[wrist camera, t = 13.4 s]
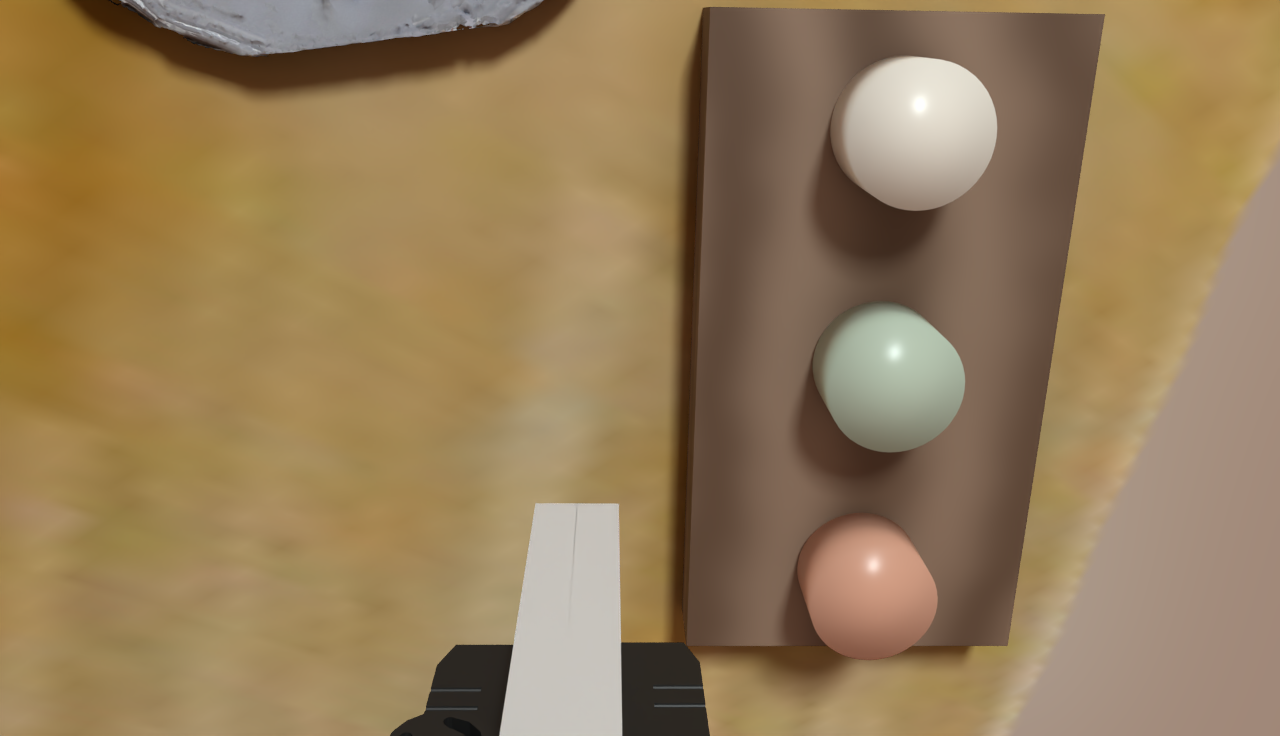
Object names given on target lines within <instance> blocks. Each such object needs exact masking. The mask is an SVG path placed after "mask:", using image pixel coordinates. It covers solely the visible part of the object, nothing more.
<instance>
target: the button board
mask: <svg viewBox="0 0 1280 736" xmlns="http://www.w3.org/2000/svg"><path fill="white" fill-rule="evenodd" d="M1104 16H1105V14H1054V13H1001V12H948V11H894V10H841V9H787V8H734V7H707V8H703V24H702V53H701V81H700V110H699V138H698V167H697V196H696V224H695V253H694V281H693V310H692V338H691V367H690V395H689V424H688V452H687V481H686V509H685V538H684V567H683V595H682V612H683V620H684V629H685V637H686V645H687V646H827V645H826V644H825V643H824V642H823V641H822V640H821V638H820V637H819V635H818V634H817V632H816V630H815V628H814V626H813V623H812V620H811V617H810V614H809V611H808V608H807V605H806V602H805V599H804V596H803V593H802V590H801V587H800V584H799V581H798V574H797V565H798V559H799V556H800V552H801V550H802V548H803V546H804V544H805V543H806V541H807V540H808V538H809V537H810V536H811V535H812V534H813V533H814V532H815V531H816V530H817V529H818V528H819V527H821V526H822V525H823V524H825V523H827V522H828V521H830V520H832V519H835V518H837V517H840V516H843V515H847V514H852V513H871V514H876V515H880V516H883V517H886V518H888V519H890V520H892V521H893V522H895V523H896V524H898V525H899V526H900V527H901V528H902V529H903V530H904V531H905V532H906V533H907V535H908V536H909V538H910V539H911V541H912V543H913V544H914V546H915V548H916V550H917V551H918V553H919V555H920V557H921V558H922V560H923V562H924V564H925V565H926V567H927V569H928V571H929V572H930V574H931V576H932V578H933V580H934V582H935V585H936V589H937V596H938V602H937V609H936V614H935V616H934V619H933V621H932V623H931V625H930V627H929V628H928V630H927V631H926V633H925V634H924V635H923V636H922V637H921V638H920V639H919V640H918V641H917V642H916V643H915V644H914V645H912V646H1007V645H1008V639H1009V632H1010V626H1011V619H1012V613H1013V606H1014V600H1015V593H1016V587H1017V580H1018V574H1019V568H1020V561H1021V555H1022V548H1023V542H1024V535H1025V529H1026V522H1027V516H1028V509H1029V503H1030V496H1031V490H1032V483H1033V477H1034V470H1035V464H1036V457H1037V451H1038V444H1039V438H1040V431H1041V425H1042V418H1043V412H1044V405H1045V399H1046V392H1047V386H1048V379H1049V373H1050V367H1051V360H1052V354H1053V347H1054V341H1055V334H1056V328H1057V321H1058V315H1059V308H1060V302H1061V295H1062V289H1063V282H1064V276H1065V269H1066V263H1067V256H1068V250H1069V243H1070V237H1071V230H1072V224H1073V217H1074V211H1075V204H1076V198H1077V191H1078V185H1079V178H1080V172H1081V166H1082V159H1083V153H1084V146H1085V140H1086V133H1087V127H1088V120H1089V114H1090V107H1091V101H1092V94H1093V88H1094V81H1095V75H1096V68H1097V62H1098V55H1099V49H1100V42H1101V36H1102V29H1103V23H1104ZM894 56H917V57H925V58H933V59H941V60H945V61H949V62H952V63H955V64H957V65H960V66H961V67H963V68H965V69H967V70H968V71H970V72H971V73H972V74H973V75H975V76H976V77H977V78H978V79H979V81H980V82H981V83H982V84H983V85H984V87H985V88H986V90H987V91H988V93H989V95H990V97H991V99H992V102H993V105H994V108H995V112H996V117H997V138H996V143H995V148H994V151H993V154H992V157H991V160H990V162H989V164H988V166H987V168H986V169H985V171H984V173H983V174H982V176H981V177H980V178H979V180H978V181H977V182H976V183H975V184H974V185H973V186H972V187H971V188H970V189H969V190H968V191H967V192H966V193H964V194H963V195H962V196H961V197H959V198H957V199H956V200H954V201H952V202H950V203H948V204H946V205H944V206H941V207H938V208H934V209H929V210H922V211H911V210H903V209H898V208H895V207H892V206H889V205H887V204H885V203H883V202H881V201H880V200H878V199H877V198H875V197H874V196H872V195H871V194H869V193H868V192H866V191H865V190H863V189H862V188H860V187H859V186H858V185H856V184H855V183H854V182H852V181H851V180H850V179H849V178H848V177H847V176H846V175H845V173H844V172H843V171H842V169H841V168H840V166H839V164H838V162H837V160H836V158H835V155H834V153H833V149H832V145H831V136H830V127H831V119H832V115H833V111H834V108H835V105H836V103H837V100H838V98H839V96H840V95H841V93H842V91H843V90H844V88H845V87H846V85H847V84H848V83H849V82H850V81H851V80H852V78H853V77H854V76H855V75H857V74H858V73H859V72H860V71H861V70H863V69H864V68H866V67H867V66H869V65H871V64H873V63H875V62H877V61H879V60H882V59H885V58H889V57H894ZM873 301H889V302H895V303H899V304H902V305H905V306H907V307H909V308H911V309H913V310H915V311H916V312H918V313H919V314H920V315H921V316H923V317H924V318H925V319H926V320H927V321H928V322H929V323H930V324H931V325H932V326H933V327H934V328H935V329H936V330H937V331H938V332H939V333H940V334H941V335H942V336H943V337H944V338H946V339H947V340H948V341H949V342H950V343H951V345H952V346H953V347H954V348H955V350H956V351H957V353H958V355H959V357H960V359H961V362H962V364H963V369H964V373H965V390H964V395H963V400H962V402H961V405H960V408H959V410H958V412H957V414H956V415H955V417H954V419H953V420H952V422H951V423H950V424H949V425H948V426H947V428H946V429H945V430H944V431H942V432H941V433H940V434H939V435H938V436H937V437H935V438H934V439H933V440H931V441H929V442H927V443H926V444H924V445H921V446H919V447H917V448H914V449H911V450H907V451H901V452H879V451H874V450H871V449H868V448H865V447H863V446H860V445H858V444H857V443H855V442H854V441H852V440H851V439H849V438H848V437H847V436H846V435H845V434H844V433H843V432H842V431H841V430H840V428H839V427H838V425H837V424H836V422H835V421H834V419H833V417H832V415H831V413H830V412H829V410H828V408H827V406H826V404H825V403H824V401H823V399H822V397H821V395H820V394H819V392H818V389H817V387H816V384H815V381H814V376H813V357H814V352H815V349H816V346H817V343H818V341H819V339H820V337H821V335H822V334H823V332H824V331H825V329H826V328H827V327H828V326H829V324H830V323H831V322H832V321H833V320H834V319H835V318H837V317H838V316H839V315H841V314H842V313H844V312H845V311H847V310H848V309H850V308H853V307H855V306H857V305H860V304H864V303H868V302H873Z"/></svg>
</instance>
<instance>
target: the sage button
mask: <svg viewBox="0 0 1280 736" xmlns="http://www.w3.org/2000/svg"><path fill="white" fill-rule="evenodd" d="M813 376H814V381H815V384H816V387H817V389H818V392H819V394H820V395H821V397H822V399H823V401H824V403H825V404H826V406H827V408H828V410H829V412H830V413H831V415H832V417H833V419H834V421H835V422H836V424H837V425H838V427H839V428H840V430H841V431H842V432H843V433H844V434H845V435H846V436H847V437H848V438H849V439H851V440H852V441H854V442H855V443H857V444H858V445H860V446H863V447H865V448H868V449H871V450H874V451H879V452H901V451H907V450H911V449H914V448H917V447H919V446H921V445H924V444H926V443H927V442H929V441H931V440H933V439H934V438H935V437H937V436H938V435H939V434H940V433H941V432H942V431H944V430H945V429H946V428H947V426H948V425H949V424H950V423H951V422H952V420H953V419H954V417H955V415H956V414H957V412H958V410H959V408H960V405H961V402H962V400H963V395H964V390H965V373H964V369H963V364H962V362H961V359H960V357H959V355H958V353H957V351H956V350H955V348H954V347H953V346H952V345H951V343H950V342H949V341H948V340H947V339H946V338H944V337H943V336H942V335H941V334H940V333H939V332H938V331H937V330H936V329H935V328H934V327H933V326H932V325H931V324H930V323H929V322H928V321H927V320H926V319H925V318H924V317H923V316H921V315H920V314H919V313H918V312H916V311H915V310H913V309H911V308H909V307H907V306H905V305H902V304H899V303H895V302H889V301H873V302H868V303H864V304H860V305H857V306H855V307H853V308H850V309H848V310H847V311H845V312H844V313H842V314H841V315H839V316H838V317H837V318H835V319H834V320H833V321H832V322H831V323H830V324H829V326H828V327H827V328H826V329H825V331H824V332H823V334H822V335H821V337H820V339H819V341H818V343H817V346H816V349H815V352H814V357H813Z"/></svg>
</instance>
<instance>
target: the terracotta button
mask: <svg viewBox="0 0 1280 736" xmlns="http://www.w3.org/2000/svg"><path fill="white" fill-rule="evenodd" d="M797 574H798V581H799V584H800V587H801V590H802V593H803V596H804V599H805V602H806V605H807V608H808V611H809V614H810V617H811V620H812V623H813V626H814V628H815V630H816V632H817V634H818V635H819V637H820V638H821V640H822V641H823V642H824V643H825V644H826V645H827V646H829V647H830V648H831V649H833V650H834V651H836V652H838V653H840V654H842V655H844V656H847V657H851V658H855V659H862V660H875V659H882V658H887V657H890V656H893V655H896V654H898V653H901V652H902V651H904V650H906V649H908V648H909V647H911V646H912V645H914V644H915V643H916V642H917V641H918V640H919V639H920V638H921V637H922V636H923V635H924V634H925V633H926V631H927V630H928V628H929V627H930V625H931V623H932V621H933V619H934V616H935V614H936V609H937V602H938V596H937V589H936V585H935V582H934V580H933V578H932V576H931V574H930V572H929V571H928V569H927V567H926V565H925V564H924V562H923V560H922V558H921V557H920V555H919V553H918V551H917V550H916V548H915V546H914V544H913V543H912V541H911V539H910V538H909V536H908V535H907V533H906V532H905V531H904V530H903V529H902V528H901V527H900V526H899V525H898V524H896V523H895V522H893V521H892V520H890V519H888V518H886V517H883V516H880V515H876V514H871V513H852V514H847V515H843V516H840V517H837V518H835V519H832V520H830V521H828V522H827V523H825V524H823V525H822V526H821V527H819V528H818V529H817V530H816V531H815V532H814V533H813V534H812V535H811V536H810V537H809V538H808V540H807V541H806V543H805V544H804V546H803V548H802V550H801V552H800V556H799V559H798V565H797Z"/></svg>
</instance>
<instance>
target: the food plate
mask: <svg viewBox="0 0 1280 736" xmlns="http://www.w3.org/2000/svg"><path fill="white" fill-rule="evenodd" d="M109 1H111V0H109ZM119 1H122V2H121V3H119V4H121V5H122V6H123V7H128V10H131V11H134V12H136V13H138V15H140V16H141V17H143V18H144V19H146V20H147V21H149V22H151V23H153V24H154V25H155V27H156V26H157V27H159V28H161V26H162V27H164V28H167V29H169V30H173V31H175V32H177V33H179V34H182V35H183V36H184V37H183V38H186V39H187V40H188V41H191V42H192V43H193V44H197V45H201V46H205V48H213V49H214V50H222V51H225V52H227V53H231V54H233V53H235V54H238V55H241V56H252V57H254V56H256V57H258V56H260V55H261V56H265V55H262V54H274V53H286V52H297V51H301V50H308V49H316V48H323V47H334V46H342V45H348V44H353V43H367V42H376V41H380V40H386V39H393V38H401V37H411V36H413V37H419V36H423V35H430V34H437V33H441V32H449V31H456V30H457V29H456V28H457V27H459V24H462V25H464V26H468V27H469V29H472V28H475V27H476V25H479V24H483V25H486V24H489V23H496V24H494V25H487V26H482V27H497V26H501V25H507V24H509V23H511V22H512V21H513V20H515V19H516V18H518V17H520V15H522V14H523V13H526V12H527V11H530V10H531V9H534V8H535V7H536V6H538V5H540V4H541V3H542V2H543V0H119ZM111 3H113V4H115V3H114V2H112V1H111ZM119 4H115V5H119ZM477 28H480V27H477ZM459 30H460V29H459ZM462 30H463V29H462ZM259 54H260V55H259Z"/></svg>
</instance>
